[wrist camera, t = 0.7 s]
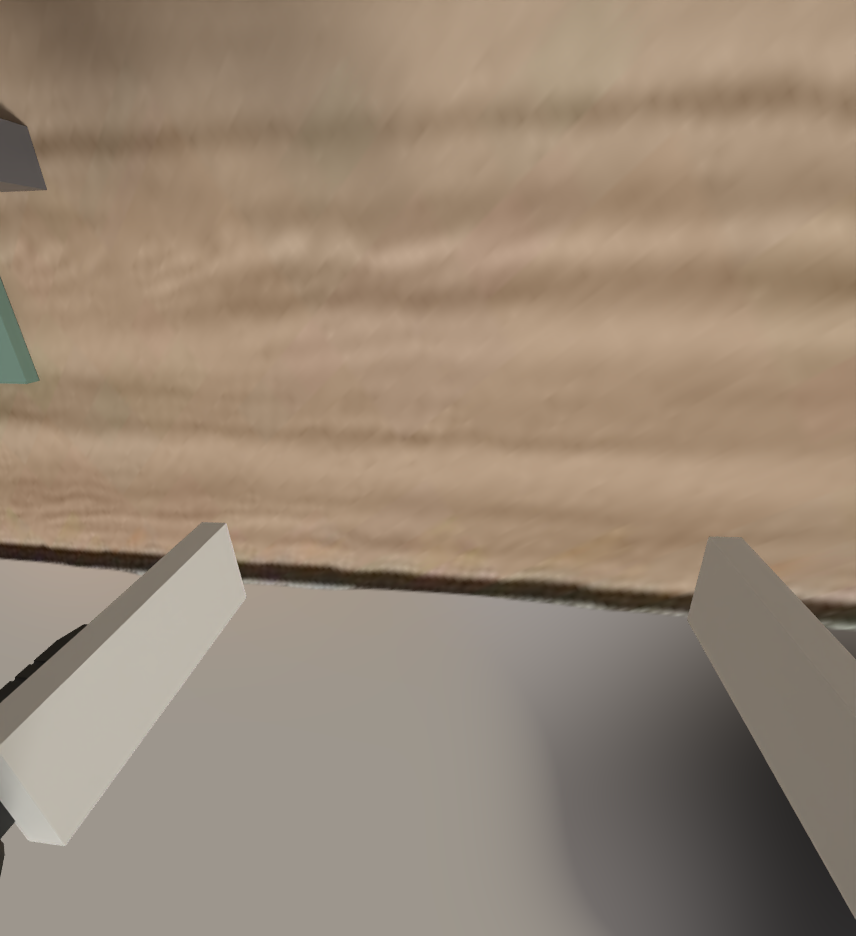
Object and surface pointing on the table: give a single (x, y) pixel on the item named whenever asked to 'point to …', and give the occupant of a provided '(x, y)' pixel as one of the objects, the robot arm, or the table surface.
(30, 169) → the plug
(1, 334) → the board
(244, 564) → the table surface
